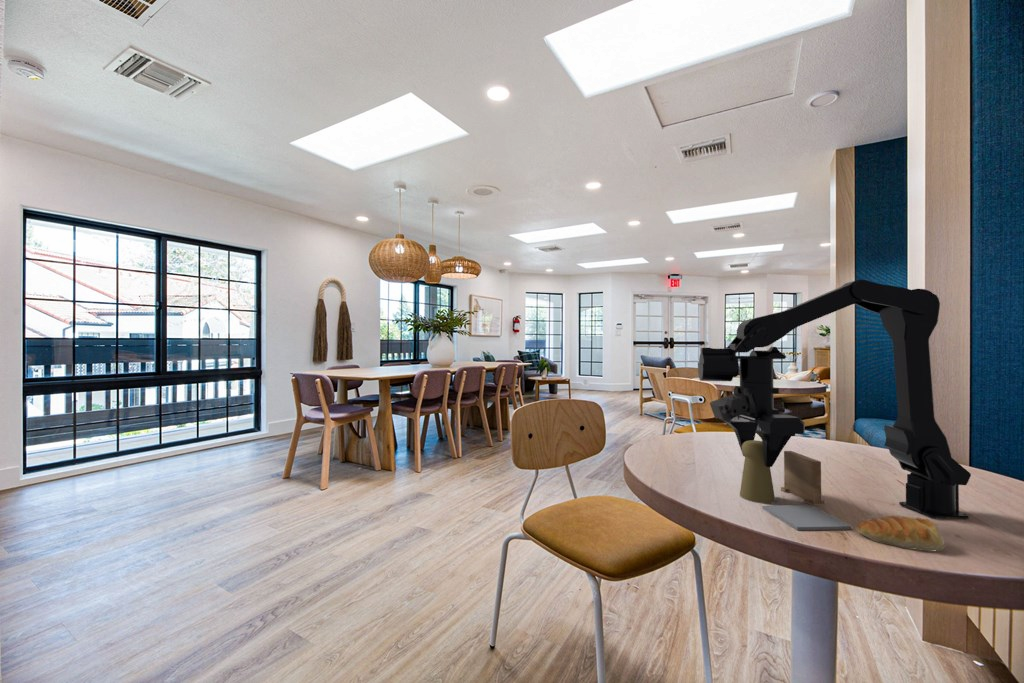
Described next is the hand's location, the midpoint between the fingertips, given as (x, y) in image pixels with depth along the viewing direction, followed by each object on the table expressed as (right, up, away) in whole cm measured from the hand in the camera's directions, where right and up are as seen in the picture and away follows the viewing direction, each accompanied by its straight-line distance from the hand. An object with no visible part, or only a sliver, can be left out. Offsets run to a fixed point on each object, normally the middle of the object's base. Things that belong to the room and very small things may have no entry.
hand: (756, 461), depth 82 cm
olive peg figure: (0, -7, 0) cm, 7 cm away
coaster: (+2, -7, -10) cm, 12 cm away
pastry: (+11, -7, -18) cm, 23 cm away
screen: (+9, -7, 0) cm, 11 cm away
